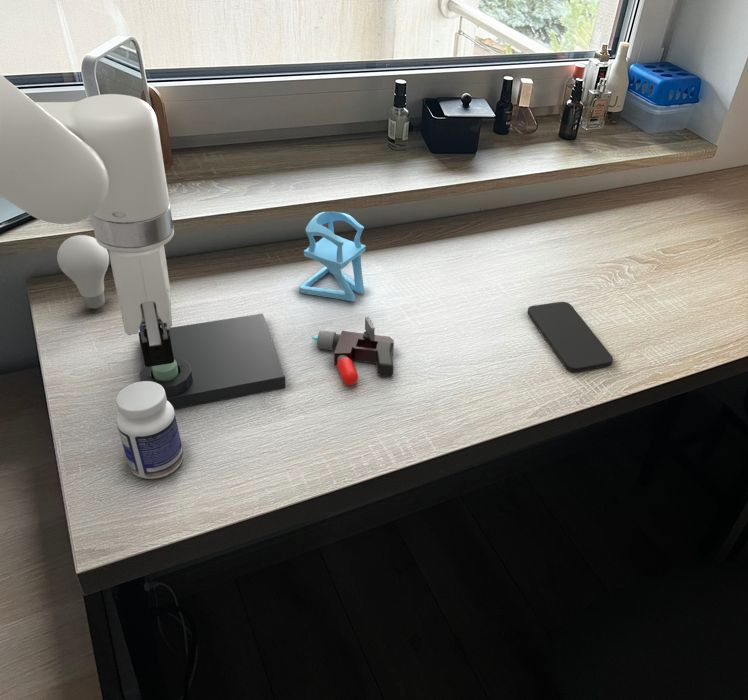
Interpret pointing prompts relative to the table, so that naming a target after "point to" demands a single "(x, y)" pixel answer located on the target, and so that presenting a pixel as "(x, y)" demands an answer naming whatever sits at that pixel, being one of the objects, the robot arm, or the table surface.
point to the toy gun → (358, 351)
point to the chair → (334, 256)
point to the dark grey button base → (220, 361)
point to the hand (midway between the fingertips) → (159, 360)
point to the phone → (569, 336)
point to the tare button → (165, 371)
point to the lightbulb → (85, 267)
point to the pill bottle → (148, 430)
